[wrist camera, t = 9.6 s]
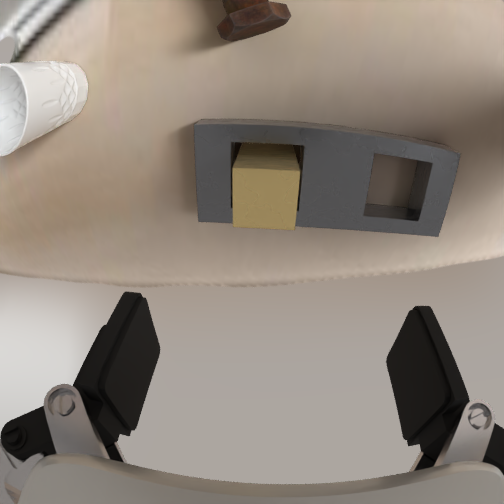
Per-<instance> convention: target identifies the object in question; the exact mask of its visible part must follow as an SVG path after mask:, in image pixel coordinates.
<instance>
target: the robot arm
mask: <svg viewBox="0 0 504 504" xmlns="http://www.w3.org/2000/svg"><path fill="white" fill-rule="evenodd" d="M159 354H160V345H159V342H158V338H157V335H156V332H155V328H154V325H153V321H152V318H151V314H150V310H149V307H148V303H147V300H146V298H143V297H142V295H141V293H134V292H125V293H123V295H122V297H121V299H120V300H119V302H118V304H117V306H116V308H115V309H114V312H113V313H112V315H111V317H110V319H109V321H108V323H107V324H106V325H104V326H103V327H102V328H101V330H100V331H99V333H98V335H97V337H96V339H95V341H94V343H93V345H92V347H91V349H90V351H89V353H88V355H87V357H86V359H85V361H84V363H83V365H82V367H81V369H80V371H79V373H78V375H77V378H76V380H75V382H74V384H73V386H71V385H68V384H61V385H57V386H55V387H53V388H52V389H51V390H50V391H49V392H48V393H47V395H46V397H45V399H44V406H42V407H40V408H38V409H35V410H33V411H31V412H29V413H27V414H24V415H22V416H20V417H17V418H15V419H13V420H11V421H9V422H7V423H6V424H5V426H4V427H3V429H2V431H1V439H0V504H504V429H503V428H502V427H500V426H499V425H497V424H495V414H494V411H493V409H492V407H491V406H490V405H489V404H488V403H487V402H486V401H484V400H480V399H475V400H472V401H470V400H469V396H468V393H467V390H466V388H465V385H464V382H463V380H462V377H461V374H460V372H459V369H458V367H457V365H456V362H455V359H454V357H453V355H452V352H451V350H450V348H449V346H448V343H447V341H446V339H445V336H444V334H443V332H442V330H441V327H440V325H439V323H438V321H437V319H436V317H435V315H434V313H433V310H432V309H431V307H430V306H415V307H414V308H413V310H410V311H409V313H408V315H407V317H406V319H405V321H404V324H403V326H402V328H401V330H400V332H399V334H398V336H397V338H396V340H395V342H394V344H393V346H392V348H391V350H390V352H389V354H388V356H387V361H386V363H387V368H388V372H389V376H390V380H391V384H392V388H393V392H394V396H395V400H396V405H397V410H398V415H399V419H400V424H401V429H402V434H403V438H404V439H405V440H407V442H408V446H412V445H417V444H420V448H421V452H420V454H419V455H418V457H417V459H416V461H415V463H414V464H413V466H412V467H411V469H410V471H409V472H407V473H402V474H396V475H391V476H385V477H379V478H372V479H365V480H357V481H347V482H336V483H321V484H255V483H239V482H228V481H219V480H210V479H203V478H196V477H189V476H183V475H178V474H172V473H167V472H162V471H157V470H152V469H148V468H143V467H139V466H135V465H130V464H127V462H126V460H125V458H124V456H123V454H122V452H121V450H120V448H119V446H118V444H117V441H118V437H119V435H120V434H122V435H126V436H130V433H131V430H135V429H136V427H137V424H138V421H139V417H140V414H141V411H142V407H143V404H144V401H145V398H146V395H147V391H148V388H149V385H150V382H151V379H152V376H153V373H154V370H155V367H156V364H157V361H158V358H159Z"/></svg>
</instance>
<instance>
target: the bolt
mask: <svg viewBox="0 0 504 504" xmlns="http://www.w3.org/2000/svg"><path fill="white" fill-rule="evenodd" d="M222 1H223V3H224V8H225V10H226V12H227V14H228V16H227V17H226V18H225V19H224V20H223V21H222V22H221V23H220V24H219V25H218V26H217V29H218V32H219V34H220V36H221V38H223V39H225V40H229V41H236V40H241V39H246V38H249V37H253V36H256V35H259V34H263V33H265V32H268V31H271V30H273V29H276V28H278V27H280V26H283V25H284V24H286V23H287V21H288V20H289V18H290V17H291V14H290V12H289V10H288V7H287V5H286V4H281V3H275V2H269V1H268V0H222Z"/></svg>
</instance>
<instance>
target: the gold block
mask: <svg viewBox="0 0 504 504" xmlns="http://www.w3.org/2000/svg"><path fill="white" fill-rule="evenodd" d="M299 180H300V169H299V165H298V162H297V158H296V155H295V152H294V148H293V145H292V144H275V143H251V142H243V143H242V145H241V148H240V150H239V153H238V155H237V158H236V160H235V163H234V166H233V227H242V228H264V229H284V230H295V222H296V212H297V202H298V191H299Z"/></svg>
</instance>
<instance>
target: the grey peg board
mask: <svg viewBox="0 0 504 504" xmlns="http://www.w3.org/2000/svg"><path fill="white" fill-rule="evenodd" d="M194 142H195V167H196V187H197V205H198V221H199V222H218V223H233V166H234V161H235V142H253V143H276V144H292V145H301V149H300V162H299V169H300V180H299V191H298V202H297V212H296V222H295V226H299V227H316V228H332V229H347V230H361V231H374V232H387V233H400V234H412V235H423V236H435V237H438V236H439V233H440V230H441V227H442V223H443V220H444V217H445V214H446V210H447V207H448V203H449V200H450V196H451V192H452V188H453V184H454V180H455V176H456V172H457V168H458V163H459V159H460V153H459V152H457V151H455V150H453V149H452V148H450V147H448V146H446V145H443V144H439V143H434V142H430V141H425V140H421V139H416V138H411V137H406V136H401V135H396V134H390V133H384V132H378V131H372V130H366V129H359V128H352V127H344V126H336V125H327V124H317V123H306V122H293V121H277V120H255V119H201V120H200V121H198V122H197V123H195V124H194ZM374 153H377V154H384V155H390V156H396V157H402V158H408V159H414V160H418V163H417V168H416V173H415V178H414V183H413V187H412V191H411V196H410V200H409V204H408V208H403V207H394V206H384V205H374V204H366V199H367V193H368V188H369V182H370V176H371V170H372V164H373V158H374Z"/></svg>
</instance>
